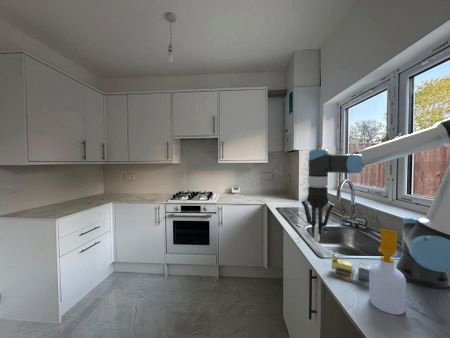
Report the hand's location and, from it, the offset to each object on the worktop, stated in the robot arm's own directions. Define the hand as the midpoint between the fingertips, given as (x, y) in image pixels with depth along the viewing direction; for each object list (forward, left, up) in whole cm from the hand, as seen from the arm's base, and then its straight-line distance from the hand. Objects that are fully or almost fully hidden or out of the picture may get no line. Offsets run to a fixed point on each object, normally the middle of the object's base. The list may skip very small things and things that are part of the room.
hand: (316, 240), depth 90 cm
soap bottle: (-23, +13, -12) cm, 29 cm away
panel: (-14, 0, -12) cm, 18 cm away
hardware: (-14, 0, -10) cm, 18 cm away
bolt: (-9, 0, -10) cm, 14 cm away
